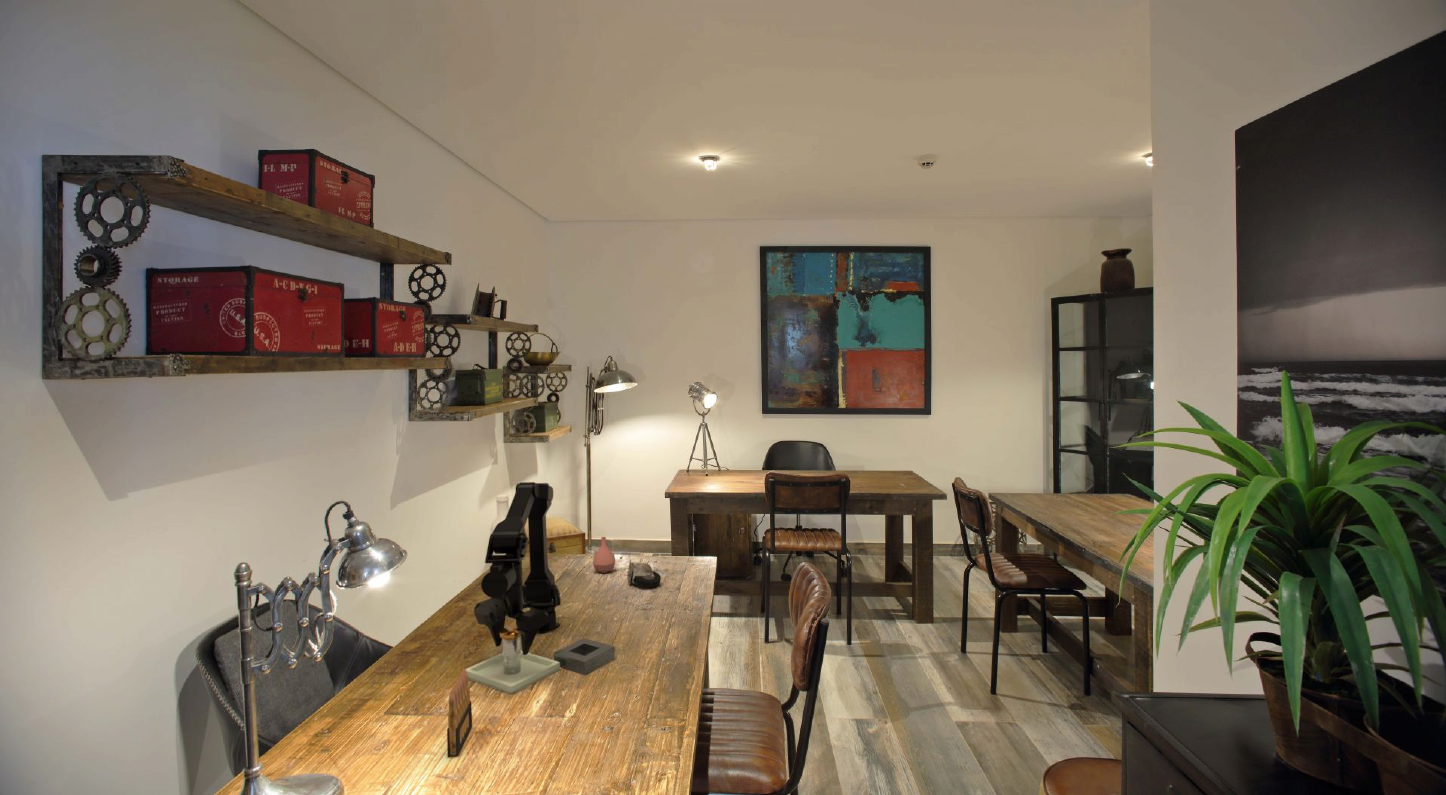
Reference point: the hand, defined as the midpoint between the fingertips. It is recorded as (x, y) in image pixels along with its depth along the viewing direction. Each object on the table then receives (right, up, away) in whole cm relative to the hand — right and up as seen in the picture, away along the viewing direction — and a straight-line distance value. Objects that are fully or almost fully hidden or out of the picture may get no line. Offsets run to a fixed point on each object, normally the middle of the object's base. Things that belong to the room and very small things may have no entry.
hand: (511, 650), depth 154 cm
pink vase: (+8, -2, +77) cm, 77 cm away
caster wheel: (+23, -3, +63) cm, 67 cm away
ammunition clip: (-1, -7, -27) cm, 28 cm away
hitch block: (+15, -5, +6) cm, 17 cm away
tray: (0, -6, 0) cm, 6 cm away
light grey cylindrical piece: (0, -5, 0) cm, 5 cm away
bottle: (-21, -4, +62) cm, 65 cm away
